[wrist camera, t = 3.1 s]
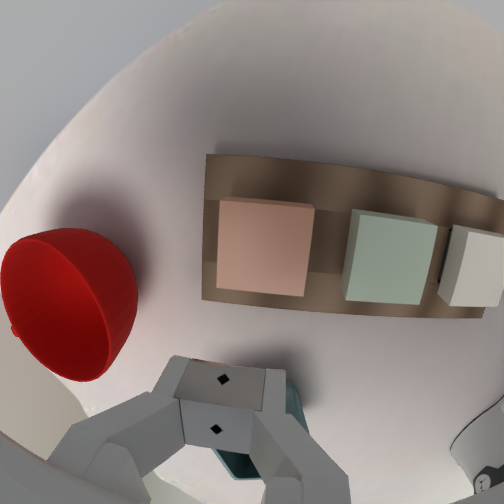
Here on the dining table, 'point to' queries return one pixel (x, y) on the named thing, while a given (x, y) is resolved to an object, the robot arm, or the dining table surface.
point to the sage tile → (387, 258)
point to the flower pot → (242, 463)
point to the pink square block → (264, 245)
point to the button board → (340, 227)
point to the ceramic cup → (69, 300)
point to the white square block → (472, 268)
